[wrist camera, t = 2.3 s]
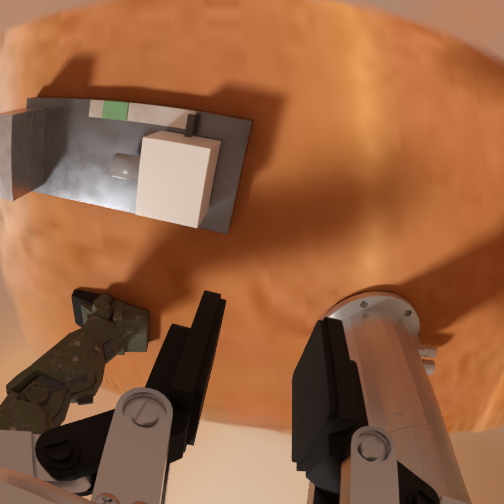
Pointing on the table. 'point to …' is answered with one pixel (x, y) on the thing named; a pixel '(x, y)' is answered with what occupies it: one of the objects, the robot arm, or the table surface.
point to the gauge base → (108, 150)
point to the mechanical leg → (74, 363)
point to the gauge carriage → (171, 175)
